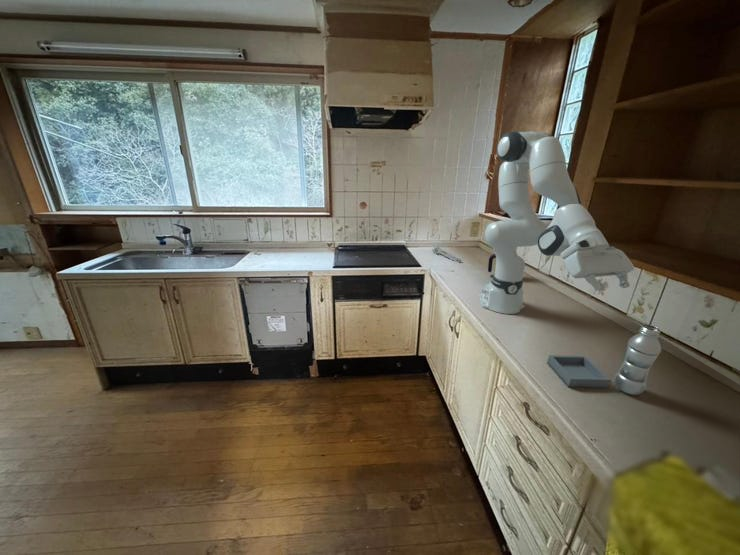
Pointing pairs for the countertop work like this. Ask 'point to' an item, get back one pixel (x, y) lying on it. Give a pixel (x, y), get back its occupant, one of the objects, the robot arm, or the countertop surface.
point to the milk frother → (491, 263)
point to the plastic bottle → (638, 360)
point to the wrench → (444, 252)
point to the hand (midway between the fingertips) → (613, 288)
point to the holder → (578, 372)
